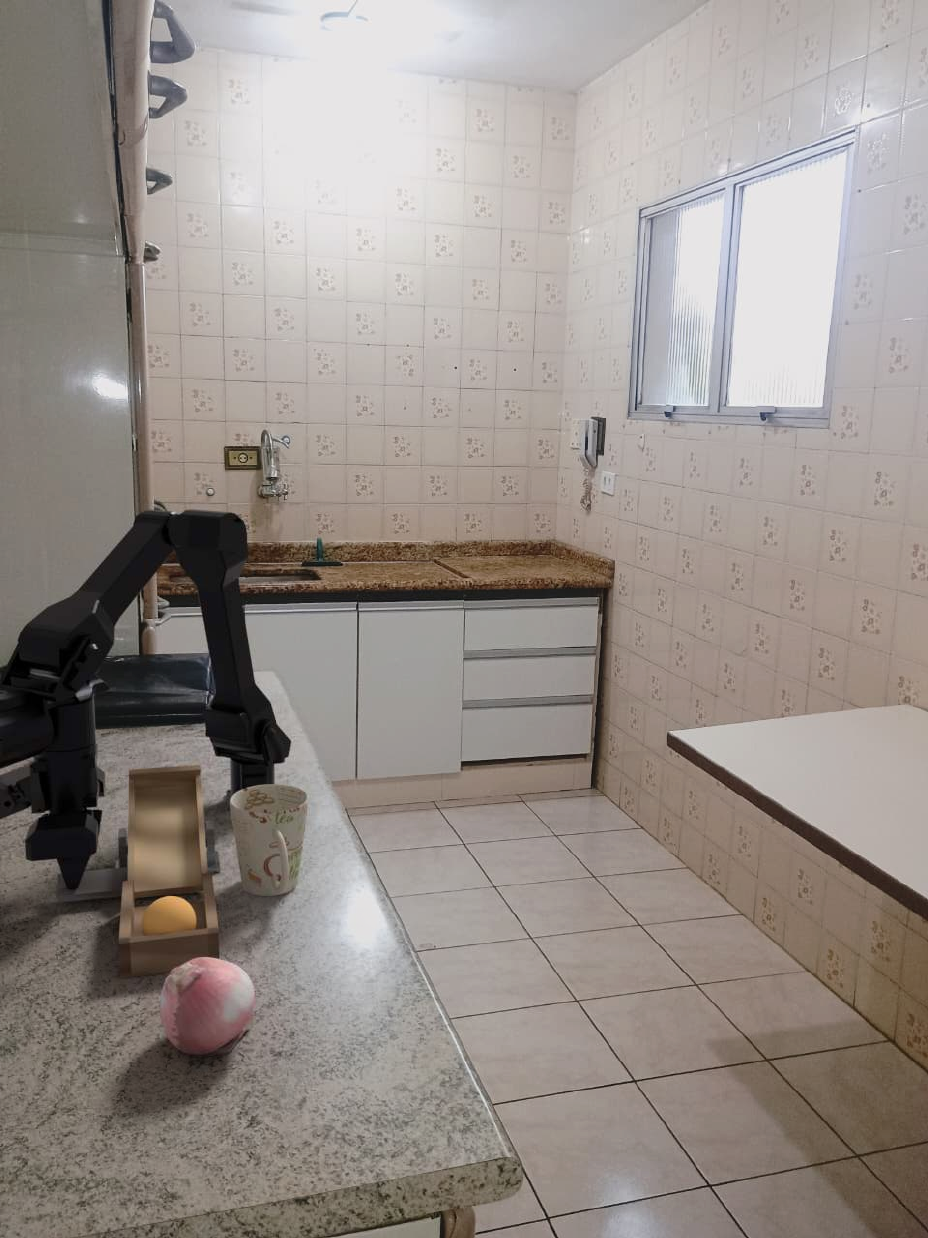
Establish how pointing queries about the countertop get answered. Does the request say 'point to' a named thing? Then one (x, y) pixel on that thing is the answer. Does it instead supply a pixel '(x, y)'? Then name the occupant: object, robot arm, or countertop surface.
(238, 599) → the robot arm
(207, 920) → the tray
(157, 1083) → the countertop surface
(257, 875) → the mug
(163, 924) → the ball
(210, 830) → the stand
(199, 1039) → the onion
